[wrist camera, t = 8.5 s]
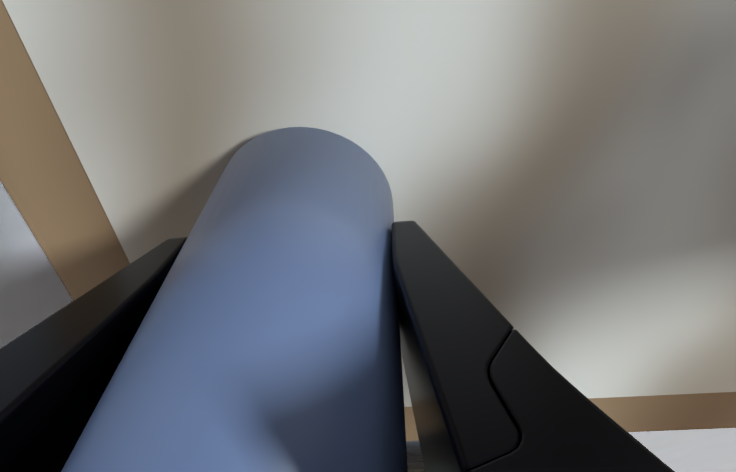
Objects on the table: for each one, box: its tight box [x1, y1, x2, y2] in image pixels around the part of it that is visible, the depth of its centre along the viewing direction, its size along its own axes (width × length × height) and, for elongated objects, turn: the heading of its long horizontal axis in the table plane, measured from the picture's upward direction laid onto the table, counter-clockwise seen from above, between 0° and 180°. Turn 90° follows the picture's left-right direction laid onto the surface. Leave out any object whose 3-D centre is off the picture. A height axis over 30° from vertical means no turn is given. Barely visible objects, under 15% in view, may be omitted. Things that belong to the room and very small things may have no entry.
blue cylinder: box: [61, 127, 408, 472], centre depth 7 cm, size 4×4×9 cm
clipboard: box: [0, 0, 736, 441], centre depth 11 cm, size 22×18×1 cm
